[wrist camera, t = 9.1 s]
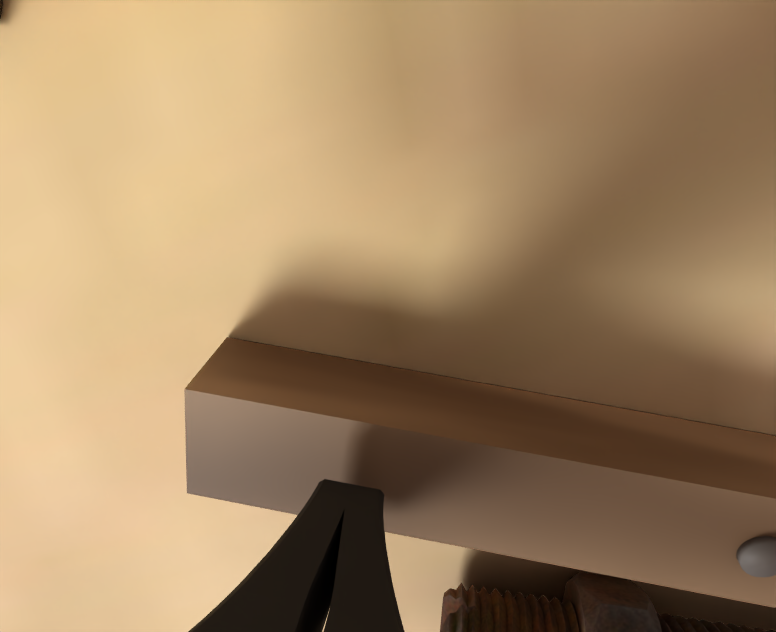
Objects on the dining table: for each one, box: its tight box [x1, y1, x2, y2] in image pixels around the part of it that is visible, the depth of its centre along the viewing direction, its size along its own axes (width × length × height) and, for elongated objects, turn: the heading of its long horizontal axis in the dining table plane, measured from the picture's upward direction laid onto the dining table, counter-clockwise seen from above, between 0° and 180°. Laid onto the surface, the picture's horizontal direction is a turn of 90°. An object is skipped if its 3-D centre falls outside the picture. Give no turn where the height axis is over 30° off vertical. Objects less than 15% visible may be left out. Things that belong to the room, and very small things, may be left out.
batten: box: [185, 337, 776, 608], centre depth 14 cm, size 3×26×3 cm, turn 82°
